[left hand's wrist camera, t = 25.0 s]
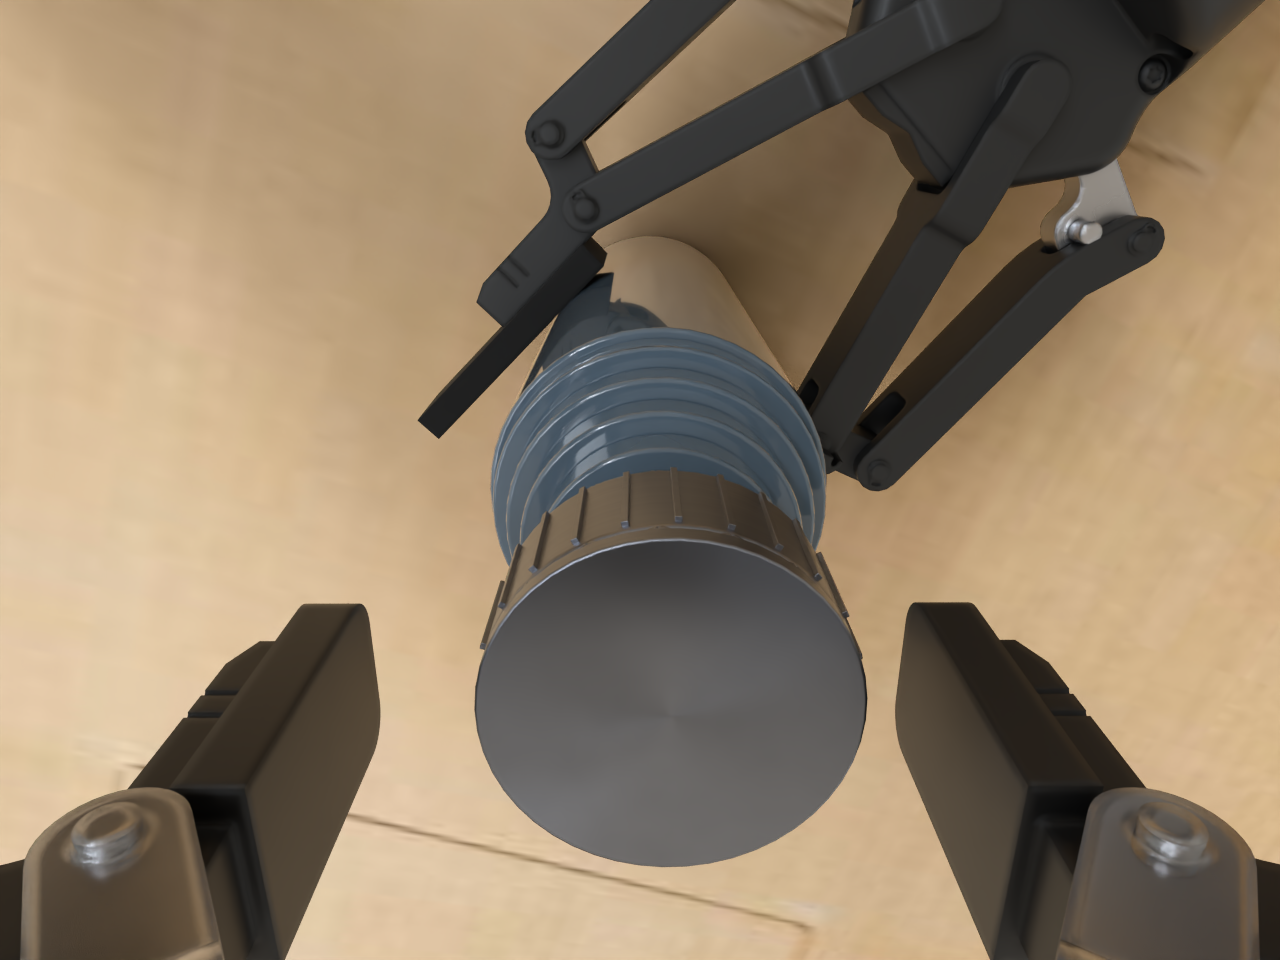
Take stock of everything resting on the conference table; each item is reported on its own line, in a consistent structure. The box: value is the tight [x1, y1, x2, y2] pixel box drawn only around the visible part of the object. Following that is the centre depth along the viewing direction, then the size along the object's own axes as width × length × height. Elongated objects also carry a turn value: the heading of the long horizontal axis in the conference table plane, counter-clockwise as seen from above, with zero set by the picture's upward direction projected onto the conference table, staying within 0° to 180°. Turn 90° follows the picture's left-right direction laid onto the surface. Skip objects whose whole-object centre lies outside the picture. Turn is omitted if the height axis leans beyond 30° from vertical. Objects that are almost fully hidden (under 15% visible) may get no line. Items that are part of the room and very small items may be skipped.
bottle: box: [490, 236, 827, 567], centre depth 21 cm, size 6×6×22 cm
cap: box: [475, 467, 867, 867], centre depth 11 cm, size 5×5×2 cm
